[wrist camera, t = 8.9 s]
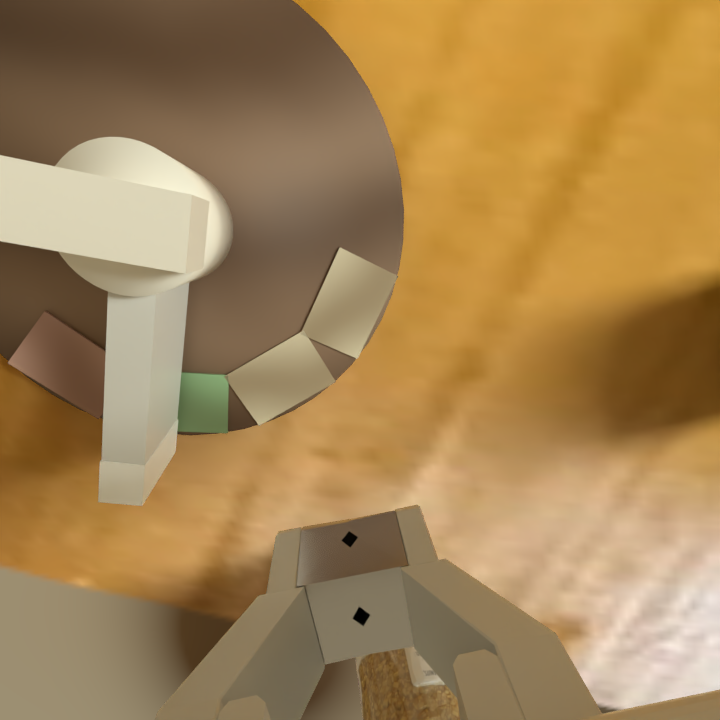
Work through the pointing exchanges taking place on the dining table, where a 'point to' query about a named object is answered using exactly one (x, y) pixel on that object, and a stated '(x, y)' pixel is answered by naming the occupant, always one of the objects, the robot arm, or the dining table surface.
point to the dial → (227, 173)
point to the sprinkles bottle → (403, 688)
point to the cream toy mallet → (126, 279)
